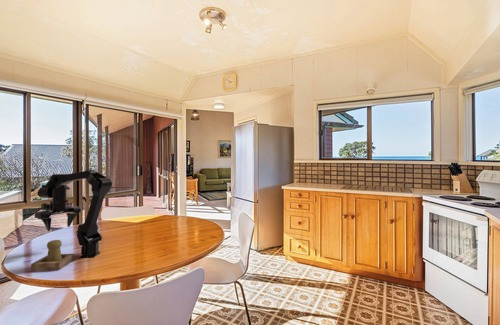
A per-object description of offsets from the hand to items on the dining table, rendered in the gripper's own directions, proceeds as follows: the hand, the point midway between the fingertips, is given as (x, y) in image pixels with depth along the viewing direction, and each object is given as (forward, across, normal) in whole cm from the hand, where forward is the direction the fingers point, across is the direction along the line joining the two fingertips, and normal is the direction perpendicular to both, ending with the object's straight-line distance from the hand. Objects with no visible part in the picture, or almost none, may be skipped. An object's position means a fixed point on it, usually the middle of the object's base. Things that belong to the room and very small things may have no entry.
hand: (58, 228), depth 126 cm
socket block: (+12, +11, +15) cm, 22 cm away
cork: (+12, +11, +15) cm, 22 cm away
